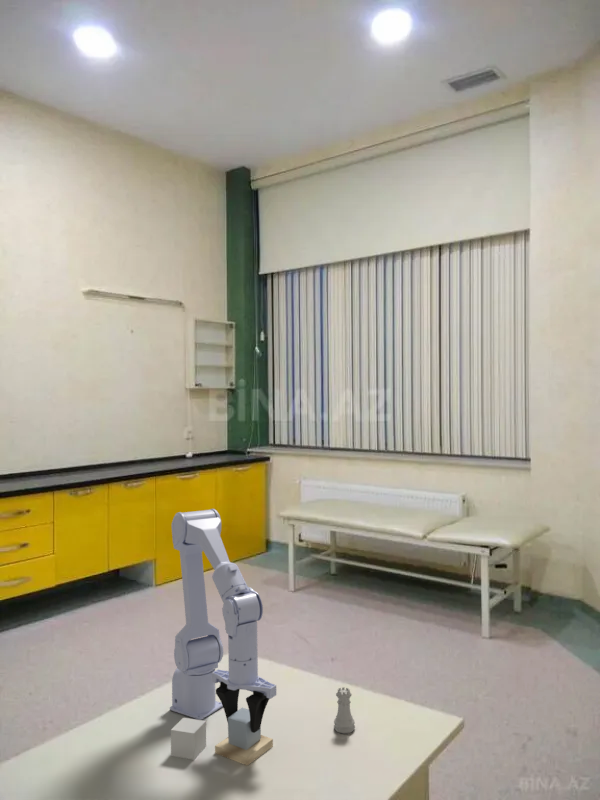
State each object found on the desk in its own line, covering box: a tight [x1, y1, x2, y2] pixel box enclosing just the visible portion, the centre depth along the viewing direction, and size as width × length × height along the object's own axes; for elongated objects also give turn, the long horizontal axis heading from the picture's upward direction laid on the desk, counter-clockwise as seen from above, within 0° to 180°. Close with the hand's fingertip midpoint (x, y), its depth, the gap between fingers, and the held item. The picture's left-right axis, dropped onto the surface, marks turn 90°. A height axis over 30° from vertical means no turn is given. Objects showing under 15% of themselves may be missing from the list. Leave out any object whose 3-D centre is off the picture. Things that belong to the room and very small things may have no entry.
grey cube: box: [170, 717, 207, 761], centre depth 118 cm, size 5×5×5 cm
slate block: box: [227, 707, 262, 750], centre depth 118 cm, size 4×4×5 cm
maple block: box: [214, 734, 274, 766], centre depth 118 cm, size 8×8×2 cm
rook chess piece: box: [333, 686, 356, 735], centre depth 125 cm, size 4×4×8 cm
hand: (243, 726), depth 118 cm, fingers open, 5 cm apart
